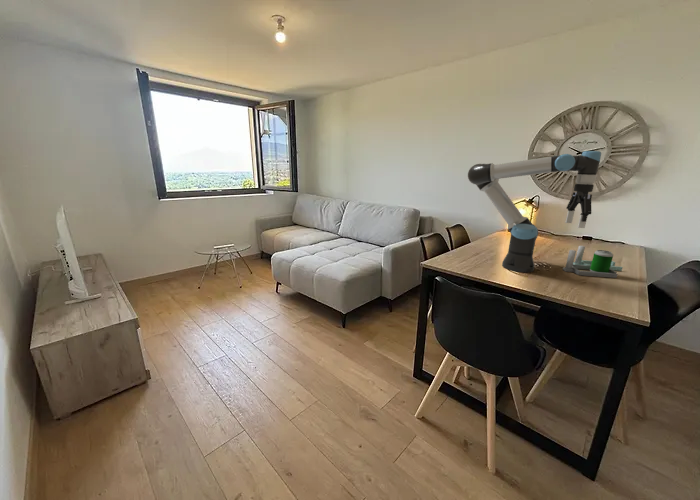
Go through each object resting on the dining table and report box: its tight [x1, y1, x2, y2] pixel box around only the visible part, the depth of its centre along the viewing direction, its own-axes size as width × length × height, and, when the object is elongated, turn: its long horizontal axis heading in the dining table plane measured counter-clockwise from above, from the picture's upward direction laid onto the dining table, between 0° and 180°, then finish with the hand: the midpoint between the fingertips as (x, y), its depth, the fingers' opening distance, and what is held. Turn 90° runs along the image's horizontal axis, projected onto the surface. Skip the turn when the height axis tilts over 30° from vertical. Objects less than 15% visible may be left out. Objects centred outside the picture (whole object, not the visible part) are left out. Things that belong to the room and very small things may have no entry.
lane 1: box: [562, 249, 618, 279], centre depth 151 cm, size 21×12×11 cm, turn 78°
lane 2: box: [573, 245, 623, 272], centre depth 160 cm, size 21×9×11 cm, turn 78°
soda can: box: [589, 249, 614, 273], centre depth 150 cm, size 8×8×12 cm
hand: (574, 225), depth 150 cm, fingers open, 13 cm apart
